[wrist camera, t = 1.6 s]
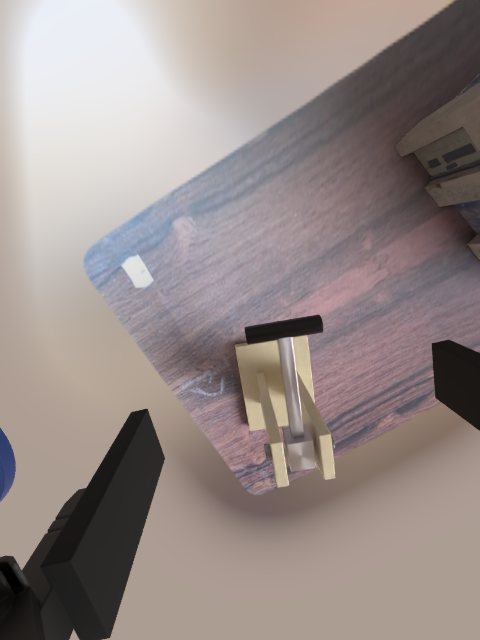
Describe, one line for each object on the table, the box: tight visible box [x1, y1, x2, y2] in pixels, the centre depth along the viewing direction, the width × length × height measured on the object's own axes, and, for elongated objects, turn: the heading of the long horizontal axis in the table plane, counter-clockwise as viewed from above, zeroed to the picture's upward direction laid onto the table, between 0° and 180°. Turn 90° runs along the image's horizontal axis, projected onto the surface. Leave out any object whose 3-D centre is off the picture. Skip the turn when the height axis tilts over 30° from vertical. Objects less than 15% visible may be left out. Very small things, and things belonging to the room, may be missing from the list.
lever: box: [245, 315, 323, 472], centre depth 25 cm, size 13×6×2 cm, turn 9°
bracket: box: [235, 335, 335, 487], centre depth 31 cm, size 12×9×15 cm
